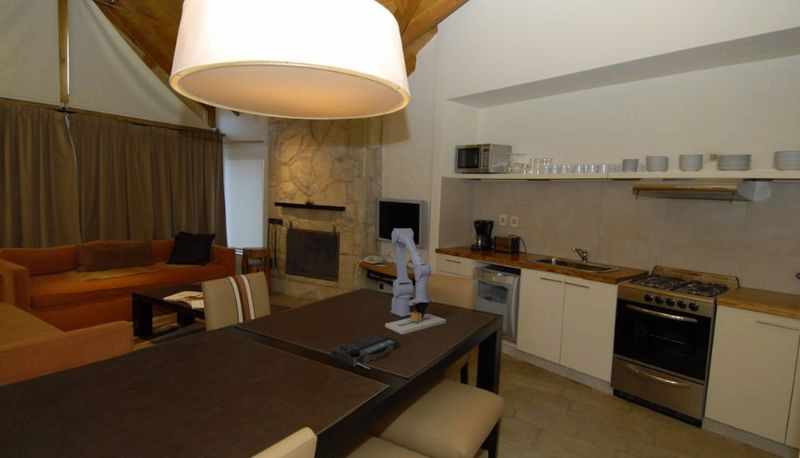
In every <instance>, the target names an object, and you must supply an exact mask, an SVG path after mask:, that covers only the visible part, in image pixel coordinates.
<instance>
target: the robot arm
mask: <svg viewBox="0 0 800 458" xmlns="http://www.w3.org/2000/svg"><path fill="white" fill-rule="evenodd" d="M414 235H415V234H414V231H413V229H412V228H411V227H409V228H408V227H407V228H395V227H394V228H393V230H392V232H391V241H392V242H391V244H392V246H393V247H394V255H395V257H394V258H395V266H396V275H397V276H396V277H397V278H396V279H395V280H394V281H393V283H392V293H393V297H392V299H391V310H390V311H389V312H390V313H392V314H394V315H396V316H400V317H405V316H406V317H407V316H411V313H412V312H413V311H412V312H411V310H410V307H411V306H414V307H415V309H416V310H415V311H416V312H419V313H421V314H422V317H421V318H423V317H424V315H425V314H426V310H427V308H428V307H429V303H428V302H434V299H435V297H433V296H428V294H429V277H430V276H431V274H432V268H431V266H430V264H428V263H427V262H426V260H425V259H424V257H423V255H422V253H421V252H420V251H418V249H417V247H416V244H415V241H414V237H415V236H414ZM405 247H406V248H407V250H408V252H409V253H410V255H409V259H410V261H411V263H412V265H413V268H414V270H413V274H414V279H415V287H414V285H413V280H412V279H410V278H409V277H408V271H407V268H408V267H407V260H406V251H405ZM414 292H415V298H413V299H411V297H412V296H413V295H414Z"/></svg>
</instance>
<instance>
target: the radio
mask: <svg viewBox="0 0 800 458" xmlns="http://www.w3.org/2000/svg"><path fill="white" fill-rule="evenodd" d="M400 344H401V341H400V340H398V339H395V338H392V337H389V336H387V335H384V334H382V333H378V332H375V333H373V334H369V335H366V336H363V337H360V338H358V339H355V340H352V341H349V342H346V343H344V344H341V345H338V346H336V347H332V348H330V356H331V357H332V358H334V359H337V360H339V361H341V362H343V363H346V364H348V365H350V366H353V367H356V366H358V365H359V366H361V367H363V368H365V369H367V370H371V368H370V366H366V365H364V364H363V363H368V362H370V361H374V360H375V361H377V360H381V359H383V358H384V357H386V356H387V355H389V353H391V352H393V351H395V350H397V349H399V348H400V346H401V345H400Z"/></svg>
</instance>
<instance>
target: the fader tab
mask: <svg viewBox="0 0 800 458" xmlns="http://www.w3.org/2000/svg"><path fill="white" fill-rule="evenodd" d="M421 317H422V314H421V313H419V312H417V310H413V311H412V313H411V315H410V318H411V320H412V321H415V322H420V321H421Z"/></svg>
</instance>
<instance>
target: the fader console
mask: <svg viewBox="0 0 800 458" xmlns="http://www.w3.org/2000/svg"><path fill="white" fill-rule="evenodd" d="M446 323H447V319H445V318H442V317H439V316H436V315H434V314H430V313H424V317H423V318H421V321H420V322H415V321H412V320H411V317H408V318H404V319H400V320H395V321H391V322H387V323H385V325H384V327H385V328H387V329H390V331H391V330H392V331H394V332H396V333H398V334H399V335H406V334H409V333H414V332H417V331H420V330H424V329H428V328H431V327H435V326H439V325H443V324H446Z"/></svg>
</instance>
